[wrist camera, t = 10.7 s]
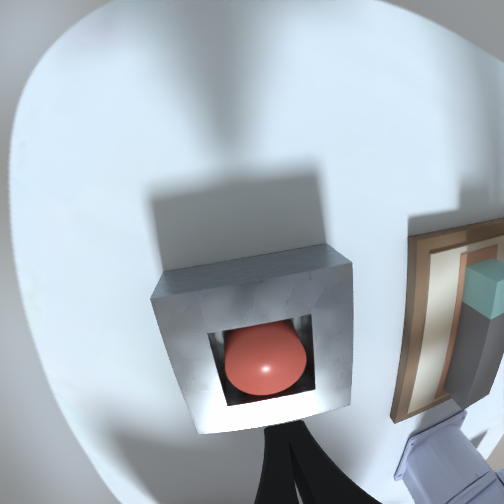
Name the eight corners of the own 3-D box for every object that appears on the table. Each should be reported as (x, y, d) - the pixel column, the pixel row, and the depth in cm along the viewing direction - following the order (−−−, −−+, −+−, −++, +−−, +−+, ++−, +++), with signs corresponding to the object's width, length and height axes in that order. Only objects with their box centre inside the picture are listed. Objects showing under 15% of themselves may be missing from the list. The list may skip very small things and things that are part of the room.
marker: (465, 384, 20) (484, 403, 17) (440, 397, 20) (458, 419, 17) (492, 257, 17) (522, 271, 14) (465, 266, 17) (497, 282, 14)
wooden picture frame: (483, 371, 22) (491, 377, 21) (389, 416, 21) (395, 426, 20) (512, 215, 18) (522, 219, 16) (408, 237, 17) (419, 242, 16)
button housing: (332, 371, 19) (350, 404, 16) (200, 396, 18) (199, 434, 15) (326, 243, 16) (352, 262, 13) (163, 272, 16) (150, 298, 13)
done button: (298, 362, 17) (308, 386, 15) (231, 375, 17) (233, 400, 14) (292, 303, 16) (303, 323, 14) (217, 317, 16) (217, 339, 13)
